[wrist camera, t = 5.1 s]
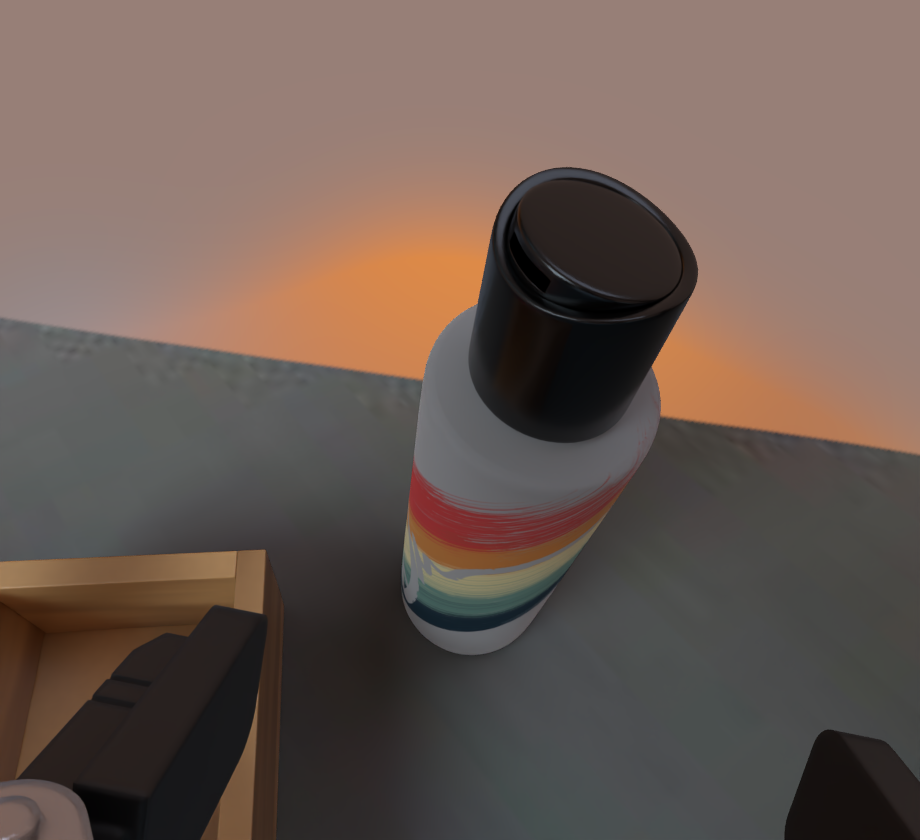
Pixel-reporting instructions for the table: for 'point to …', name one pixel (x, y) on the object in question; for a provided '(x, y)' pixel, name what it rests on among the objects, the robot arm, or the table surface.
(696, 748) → the table surface
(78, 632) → the wooden organizer box
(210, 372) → the table surface
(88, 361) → the table surface
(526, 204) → the lotion bottle
